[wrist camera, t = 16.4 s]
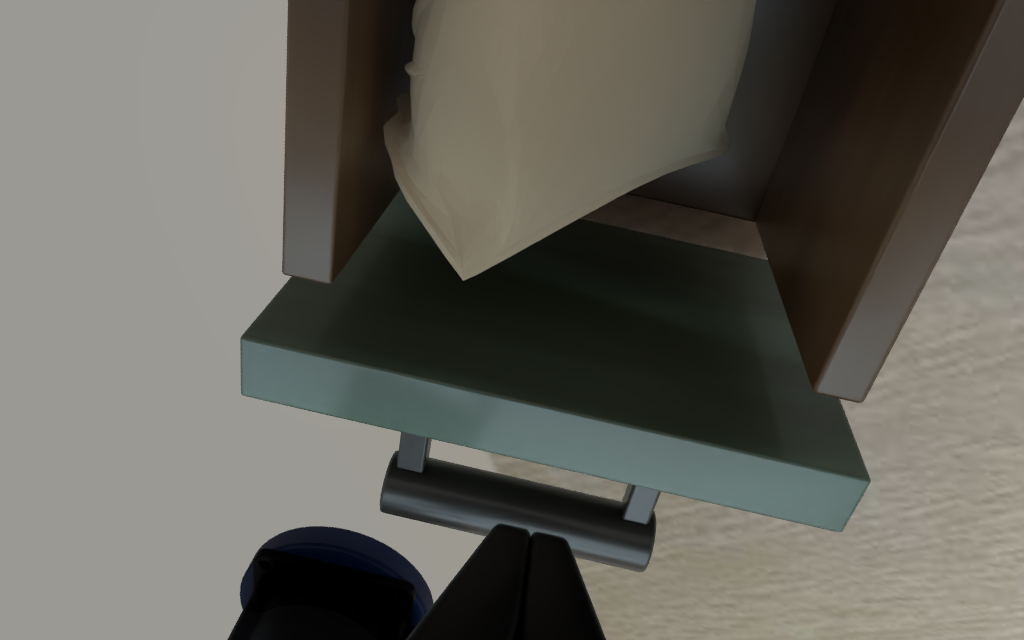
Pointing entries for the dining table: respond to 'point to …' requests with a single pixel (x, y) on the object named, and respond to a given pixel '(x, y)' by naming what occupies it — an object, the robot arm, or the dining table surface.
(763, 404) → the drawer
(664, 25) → the decorative ornament
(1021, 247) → the dining table surface
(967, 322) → the dining table surface
